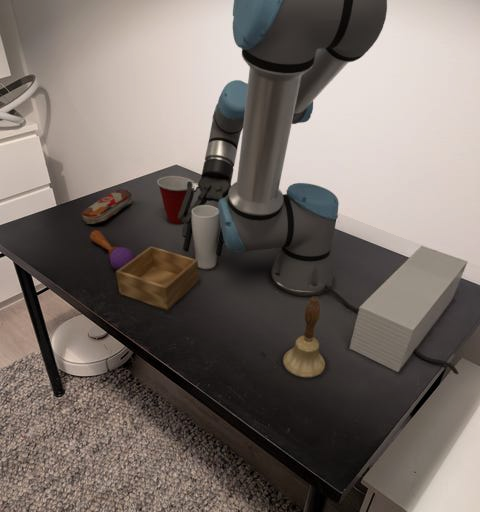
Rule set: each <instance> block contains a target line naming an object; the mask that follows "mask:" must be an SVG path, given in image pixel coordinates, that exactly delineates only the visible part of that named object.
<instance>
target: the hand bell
mask: <svg viewBox="0 0 480 512" xmlns="http://www.w3.org/2000/svg"><path fill="white" fill-rule="evenodd" d="M320 315H321V305H320V301H319V297H318V296H311V297H310V300H309V302H308V303H307V305H306V307H305V311H304V321H305V330H304V333H303V334H304V335H301V336H299V337H298V338H297V339H296V340H295V343H294V345H293V347H292V348H290V349H289V350H288V351H286V352H285V353H284V355H283V358H282V364H283V366H284V368H285V369H286V370H287V371H288V372H289V373H290V374H292V375H294V376H296V377H300V378H305V379H307V378H308V379H309V378H314V377H317V376H319V375H321V374H322V373H323V372H324V370H325V368H326V362H325V359H324V357H323V355H322V354H321V353H320V343H319V341H318V339H316V338H315V337H314V333H315V327H316V325H317V323H318V321H319V319H320Z"/></svg>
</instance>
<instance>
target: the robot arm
mask: <svg viewBox="0 0 480 512" xmlns="http://www.w3.org/2000/svg"><path fill="white" fill-rule="evenodd" d="M387 12H388V0H233V5H232V16H233V20H232V36H233V41H234V43H235V44H236V46H237V47H238V48H240V49H241V57H242V59H243V61H244V62H245V63H246V65H248V68H249V72H248V79H247V82H245V81H243V80H241V79H234V80H231V81H229V82H227V84H226V85H224V87H223V89H222V90H221V93H220V95H219V97H218V101H217V103H216V105H215V108H214V111H213V114H212V120H211V126H210V131H209V138H208V142H207V147H206V152H205V156H204V162H203V167H202V172H201V177H200V179H199V181H198V182H195V183H191V182H188V183H187V192H186V195H185V198H184V200H183V203H182V206H181V209H180V212H179V214H178V219H179V220H180V221H181V222H183V223H182V224H183V226H182V231H181V236H182V237H183V238H184V242H183V247H182V250H184V252H187V253H189V252H190V246H191V241H192V238H193V233H192V221H191V216H192V209H193V208H195V207H197V206H201V205H206V203H207V202H215V203H217V208H218V209H219V217H220V228H219V237H218V245H217V250H216V254H217V257H219V258H220V257H222V252H223V247H224V244H225V246H226V248H227V249H228V251H231V252H234V253H235V252H240V253H241V252H244V253H246V252H253V251H254V252H255V251H263V250H273V249H280V251H279V253H278V255H277V257H276V259H275V261H274V263H273V265H272V268H271V274H270V278H271V281H272V284H273V285H274V286H275V287H277V288H278V289H279V291H280V290H281V291H282V292H284V293H287V294H288V295H289V294H290V295H292V296H297V297H313V296H315V297H317V296H319V295H322V294H325V293H327V292H328V291H329V292H330V293H331V294H332V295H333V296H334V297H336V298H337V299H339V301H341V302H342V303H343V304H344V305H345V306H346V307H347V308H349V309H351V310H352V311H354V312H356V313H358V312H359V308H356V307H355V306H353V305H352V304H350V303H349V302H348V301H347V300H346V299H345V298H344V297H342V296H341V294H339V293H338V292H336V291H335V290H334V289H333V288H332V286H333V281H334V270H333V265H332V260H331V251H332V246H333V241H334V235H335V231H336V225H337V219H338V217H339V205H340V203H339V198H338V196H336V194H334V192H332V191H331V190H329V189H327V188H325V187H322V186H320V185H317V184H314V183H308V182H307V183H305V182H295V183H293V184H290V185H289V186H288V187H287V189H286V190H285V191H286V193H285V194H283V192H282V190H281V189H280V184H281V179H282V174H283V169H284V164H285V159H286V154H287V148H288V145H289V138H290V135H291V128H292V125H297V124H302V123H303V124H304V123H307V122H308V121H309V120H310V119H311V117H312V114H313V110H314V100H315V99H316V98H317V97H318V96H319V95H320V94H321V93H322V92H323V91H324V90H325V88H327V86H328V85H329V84H330V83H331V82H332V81H333V80H335V78H336V77H337V76H338V75H339V73H340V72H341V71H342V70H343V69H344V68H345V67H346V66H347V65H348V64H349V63H352V62H356V61H358V60H359V59H361V58H362V57H364V56H365V55H366V53H367V52H369V50H370V49H371V48H372V47H373V46H374V44H375V43H376V42H377V40H378V39H379V37H380V35H381V33H382V31H383V29H384V26H385V23H386V17H387V14H388V13H387ZM240 139H241V143H240V144H241V145H240V149H239V150H240V153H239V161H238V169H237V180H236V181H235V182H234V183H232V179H233V175H234V171H235V170H234V167H235V164H236V159H237V155H238V147H239V142H240ZM198 189H199V191H200V193H199V195H198V196H197V198H196V200H195V202H194V203H193V205H192V201H193V199H194V197H195V193H196V192H197V190H198ZM191 205H192V207H191ZM188 210H189V211H188ZM187 213H188V215H187ZM413 354H415V355H416V356H417V357H419V358H420V359H422V360H424V361H425V362H429V363H434V364H439V365H444V366H446V367H448V368H449V369H450V370H451V371H452V372H453V374H455V375H459V372H458V370H457V368H456V367H455V366H454V365H453V364H452V363H450V362H448V361H445V360H442V359H436V358H431V357H428V356H426V355H424V354H422V353H421V352H420V351H419V350H417V348H415V349H414V351H413Z"/></svg>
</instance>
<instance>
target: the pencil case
mask: <svg viewBox="0 0 480 512" xmlns="http://www.w3.org/2000/svg"><path fill="white" fill-rule="evenodd" d="M132 195H133V193H132V192H131V191H130V190H128V189H125V188H124V189H123V188H122V189H121V188H120V189H117V190H116V191H113V192H111V193H109V194H107V195H106V196H104V197H102V198H100V199H99V200H97V201H96V202H94V203H93V204H92V205H90V206H88V207H87V208H85V209H84V210H83V211H82V212H81V213H80V214H81V217H82V220H83V221H84V222H85V223H86V224H87V225H95V224H100V223H103V222H106V221H107V220H108V219H110V218H111V217H113V216H115V215H116V214H117V213H119V212H120V211H122V210H124V208H126V207H128V206H129V205H131V204H132V201H133V200H132V199H131V198H132Z"/></svg>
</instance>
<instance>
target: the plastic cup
mask: <svg viewBox="0 0 480 512" xmlns="http://www.w3.org/2000/svg"><path fill="white" fill-rule="evenodd" d="M188 182H191V183H196V182H195V181H194V180H193V179H191V178H189V177H185V176H179V175H168V176H167V175H166V176H162V177H160V178H158V179H157V181H156V183H157V185H158V187H159V192H160V194H161V199H162V203H163V204H162V205H163V208H164V211H165V215H166V219H167V221H168V223H170V224H172V225H173V224H174V225H181V224H184V223H183V222H181V221H180V220H179V219H178V214H179V212H180V209H181V206H182V203H183V200H184V198H185V195H186V192H187V183H188ZM189 211H190V209H189V210H188V213H189ZM188 213H187V215H188Z"/></svg>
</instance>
